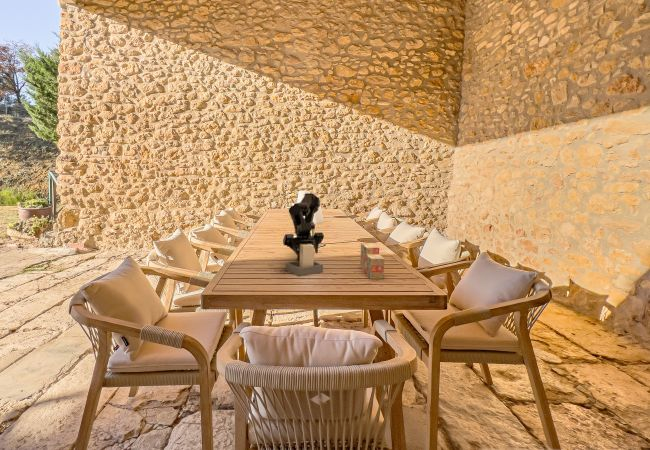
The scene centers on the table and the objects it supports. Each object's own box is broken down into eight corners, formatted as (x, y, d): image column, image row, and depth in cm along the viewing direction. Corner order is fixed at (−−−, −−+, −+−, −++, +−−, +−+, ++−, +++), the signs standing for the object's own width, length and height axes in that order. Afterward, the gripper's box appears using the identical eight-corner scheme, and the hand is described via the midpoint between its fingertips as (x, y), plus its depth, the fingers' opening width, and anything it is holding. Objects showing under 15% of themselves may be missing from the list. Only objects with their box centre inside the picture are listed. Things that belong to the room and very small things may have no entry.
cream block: (299, 269, 175) (299, 244, 173) (309, 268, 177) (310, 243, 175) (303, 272, 170) (303, 246, 169) (313, 271, 172) (313, 245, 170)
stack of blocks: (383, 279, 165) (384, 251, 163) (369, 279, 164) (370, 251, 162) (372, 266, 186) (373, 242, 184) (360, 266, 185) (360, 242, 183)
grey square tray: (307, 266, 184) (307, 259, 183) (322, 272, 174) (322, 264, 173) (285, 270, 176) (285, 262, 176) (300, 276, 166) (300, 268, 166)
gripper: (284, 216, 170) (291, 245, 162) (322, 215, 177) (331, 242, 168) (280, 231, 178) (286, 259, 170) (316, 229, 185) (324, 256, 177)
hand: (307, 253), depth 171 cm, fingers open, 9 cm apart
